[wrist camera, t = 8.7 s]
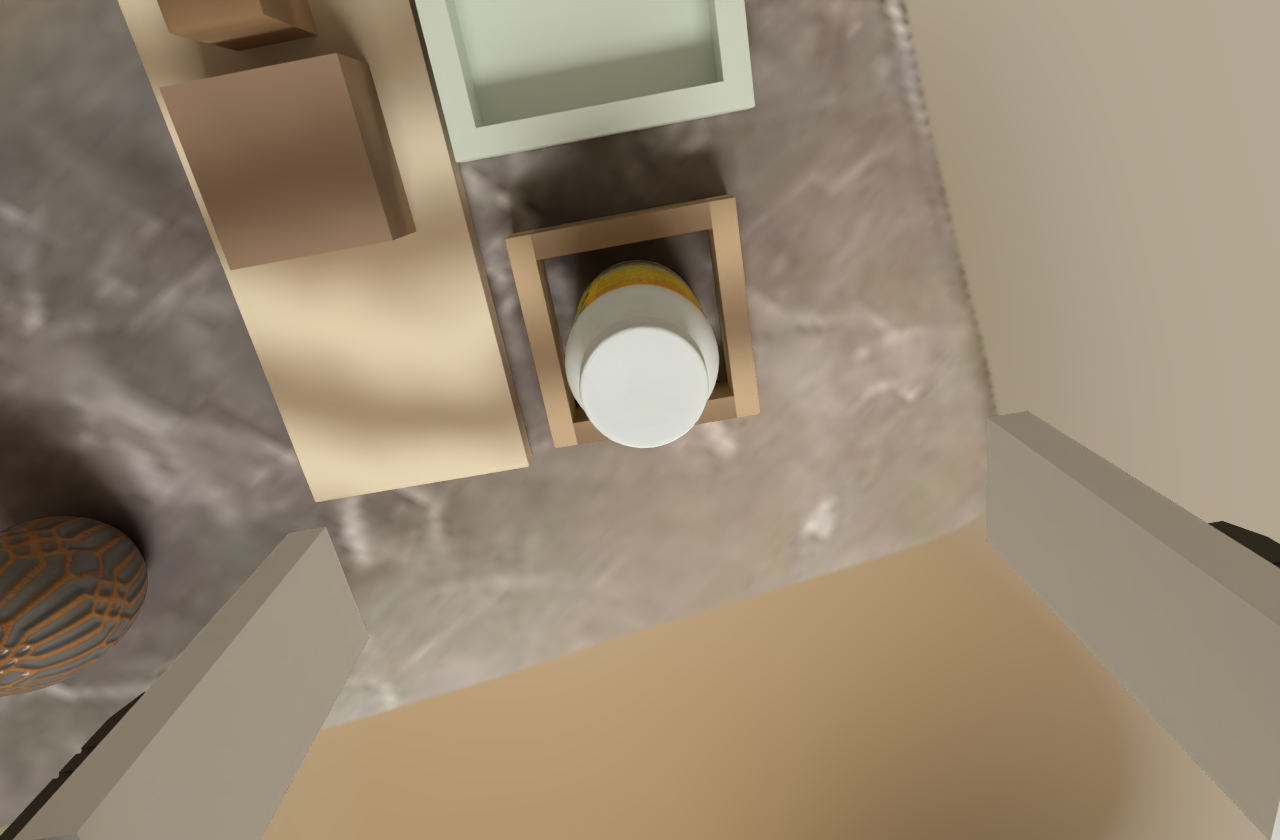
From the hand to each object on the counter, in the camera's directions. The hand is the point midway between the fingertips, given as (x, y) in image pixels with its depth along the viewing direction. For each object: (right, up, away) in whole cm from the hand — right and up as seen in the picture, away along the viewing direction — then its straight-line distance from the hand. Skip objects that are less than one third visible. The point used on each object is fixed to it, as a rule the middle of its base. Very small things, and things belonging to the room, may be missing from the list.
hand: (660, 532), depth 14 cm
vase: (-27, -4, +20) cm, 34 cm away
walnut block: (-13, +12, +12) cm, 21 cm away
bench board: (-12, +10, +14) cm, 22 cm away
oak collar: (-1, +7, +16) cm, 18 cm away
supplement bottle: (-1, +7, +16) cm, 18 cm away
